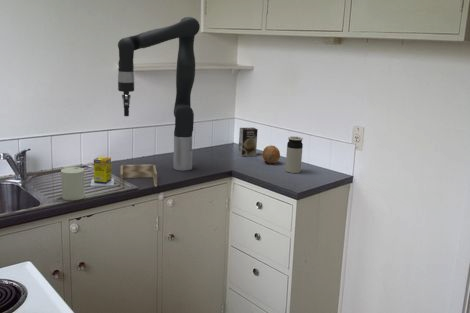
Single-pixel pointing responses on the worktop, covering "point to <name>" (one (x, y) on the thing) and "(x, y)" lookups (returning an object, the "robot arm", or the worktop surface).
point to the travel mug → (294, 154)
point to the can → (72, 183)
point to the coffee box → (247, 142)
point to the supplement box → (102, 170)
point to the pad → (110, 183)
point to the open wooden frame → (138, 172)
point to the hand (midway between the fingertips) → (126, 114)
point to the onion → (271, 154)
